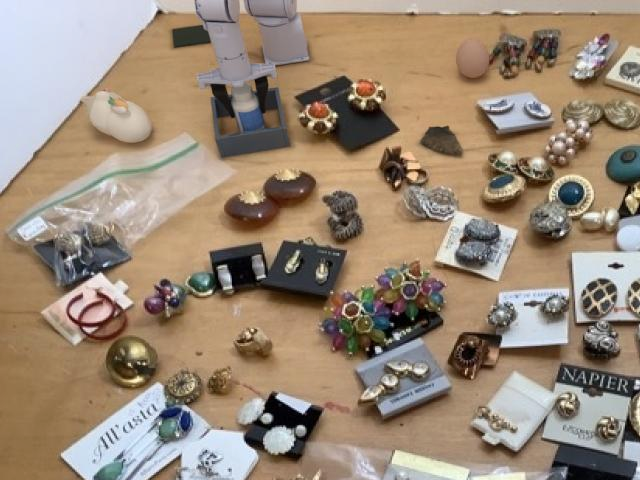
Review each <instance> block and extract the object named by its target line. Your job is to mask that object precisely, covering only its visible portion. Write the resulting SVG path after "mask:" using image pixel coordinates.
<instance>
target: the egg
mask: <svg viewBox="0 0 640 480" xmlns="http://www.w3.org/2000/svg"><path fill="white" fill-rule="evenodd" d="M455 64H456V67H457V70H458V71H459V72H460V73H461V75H463V76H464V77H467V78H470V79H476V78H479V77H481V76H483V75H484V74H485V73H486V72H487V70H488V68H489V65H490V53H489V50H488V48H487V46H486V45H485V44H484V43H483V42H482V41H481V40H480V39H478V38H475V37H470V38H467V39H464V41H463V42H462V43H461V44H460V45H459V47H458V49H457V51H456V55H455Z"/></svg>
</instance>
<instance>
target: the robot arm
mask: <svg viewBox="0 0 640 480" xmlns="http://www.w3.org/2000/svg"><path fill="white" fill-rule="evenodd" d="M193 2H194V3H193V4H194V8H195V14H196V17H197V19H198V20H199V21H200V22H201V25H203V27H204V29H205V30H206V31H208V33H209V36H210V41H211V43H210V44H211V45H212V49H213V52H214V55H215V59H216V63H217V65H218V67H217V68H214V69H211V70H209V71H206V72H204V73H203V72H202V73H197V74H196V80H197V84H198V86H199V89H200V90H204V89H206V88H207V87H210V89H211V94H212V95H213V97H215V98H217V99H218V100H219V101H220V102H221V103H222V104H223V105H224V107H225V108H226V109H227V111H228V112H229V114H230V116H229V117H230V119H235V115H234V112H233V109H232V106H231V101H230V98H229V96H228V95H229V92H228V89H227V85H231V86H232V87H242V86H244V83H246V84H247V83H248V82H251V81H254V85H255V90H257V94H258V97H259V101H260V107H261V112H262V113H263V114H266V110H265V98H266V94H267V91H268V88H269V87H270V84H269V78H271V79H277V78H278V74H277V69H276V66H281V65H288V64H296V63H303V62H308V61H310V56H309V50H308V46H309V43H308V39H307V37H306V36H305V35H306V34H305V30H304V26H303V21H302V17H301V16H302V15H301V13H300V12H299V11H298V12H297V9H298V0H243V5H244V10H245V12H246V13H247V15H248V16H249V17H253V21H254V22H256V23H257V25H258V29H259V33H260V37H261V42H262V45H261V47H262V52H263V58H264V63H259V62H258V63H257V62H250V58H249V55H248V51H247V47H246V43H245V39H244V35H243V32H242V28H241V24H240V21H239V18H240V12H241V5H240V0H193Z"/></svg>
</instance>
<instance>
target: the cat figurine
mask: <svg viewBox="0 0 640 480" xmlns="http://www.w3.org/2000/svg"><path fill="white" fill-rule="evenodd" d="M80 101H81V103H82V104H83V105H84V106H85V107H86V114H87V118H88V120H89V121H90V123H91V124H92V125H93V127H94V128H96V129H97V130H98V131H100V132H101V133H103V134H105V135H107V136H112V137H113V138H114V139H116V140H117V141H120V142H124V143H128V144H130V143H131V144H132V143H133V144H134V143H140V142H143V141H145V140H147V139H148V138H149V137H150V136H151V134H152V131H153V125H152V124H153V123H152V121H151V119H150V116H149V115H148V114H147V112H146V111H145V110H144V109H143V108H142V107H141V106H140V105H138V104H136V103H135V102H132V101H129V100H125V99H123V97H122V96H120V95H119V94H117V93H116V92H113V91H111V90H110V89H109V88H108V87H107V88H106V87H105V88H104V89H103V90H100V91H99V90H98V91H97V92H96V93H95V94H94V95H84V96H81V98H80Z"/></svg>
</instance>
